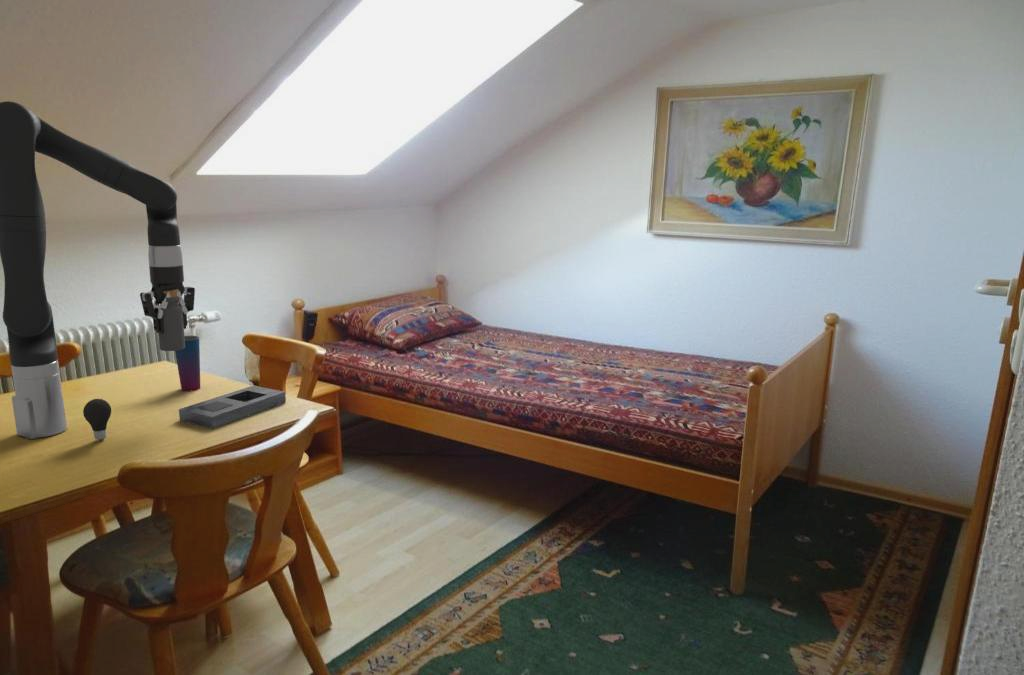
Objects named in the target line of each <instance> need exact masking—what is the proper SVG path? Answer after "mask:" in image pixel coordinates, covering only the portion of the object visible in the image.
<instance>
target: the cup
mask: <svg viewBox="0 0 1024 675" xmlns="http://www.w3.org/2000/svg"><path fill="white" fill-rule="evenodd" d="M184 337H185V348H184V349H182V350H177V351H174V352H175V354H174V355H175V359H176V364H177V366H176V367H177V372H178V376H179V384H180V388H181V391H183V392H193V391H198V390H200V389H201V360H200V356H201V355H200V354H201V353H200V350H201V349H200V336H198V335H184Z"/></svg>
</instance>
